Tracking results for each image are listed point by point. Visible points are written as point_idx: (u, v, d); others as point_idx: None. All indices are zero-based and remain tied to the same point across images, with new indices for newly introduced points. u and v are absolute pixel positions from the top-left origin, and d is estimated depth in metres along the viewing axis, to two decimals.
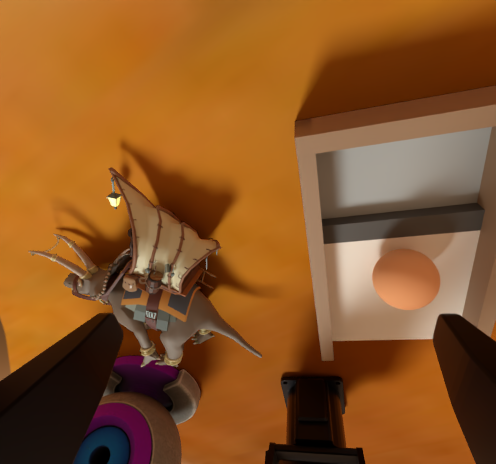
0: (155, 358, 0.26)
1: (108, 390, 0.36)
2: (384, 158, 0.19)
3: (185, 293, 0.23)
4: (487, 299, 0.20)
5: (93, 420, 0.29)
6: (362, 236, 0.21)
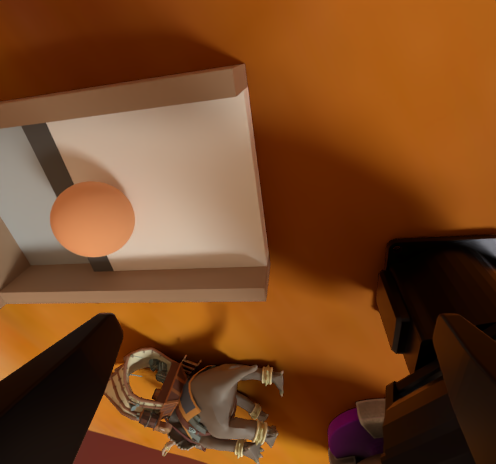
0: (248, 449, 0.24)
1: None
2: (26, 213, 0.20)
3: (165, 400, 0.23)
4: (93, 111, 0.13)
5: None
6: None
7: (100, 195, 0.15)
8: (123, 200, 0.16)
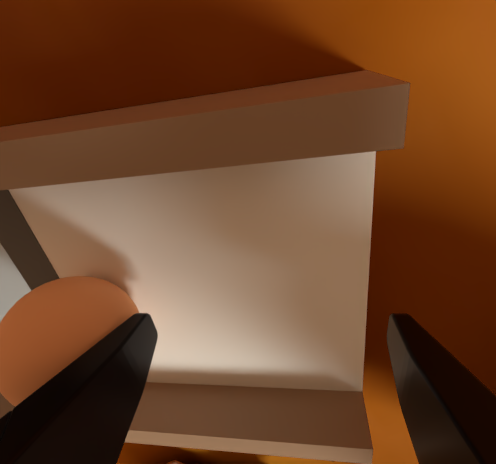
0: None
1: None
2: None
3: None
4: (75, 174, 0.06)
5: None
6: None
7: (71, 323, 0.08)
8: (118, 322, 0.09)
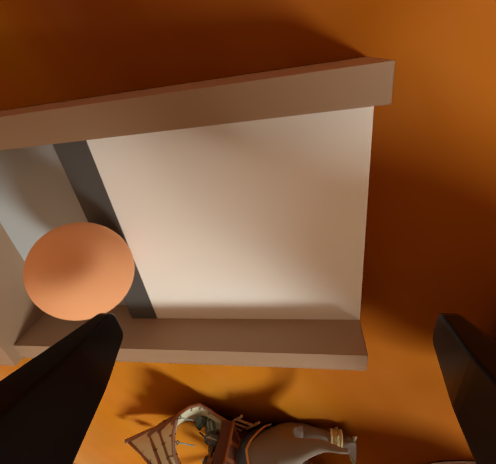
0: None
1: None
2: None
3: None
4: (164, 124, 0.09)
5: None
6: (135, 279, 0.15)
7: (35, 260, 0.11)
8: (56, 282, 0.11)
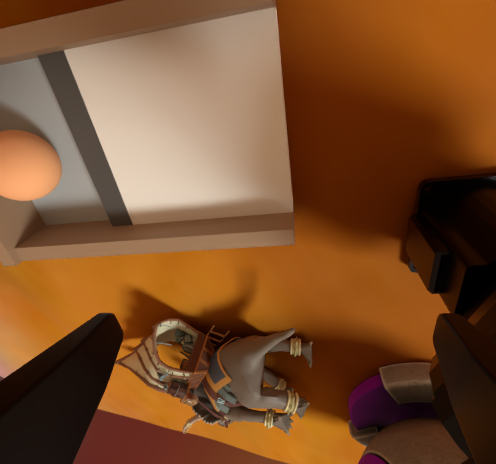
0: (279, 419, 0.23)
1: None
2: None
3: (195, 369, 0.23)
4: (119, 27, 0.12)
5: None
6: (112, 187, 0.19)
7: None
8: None
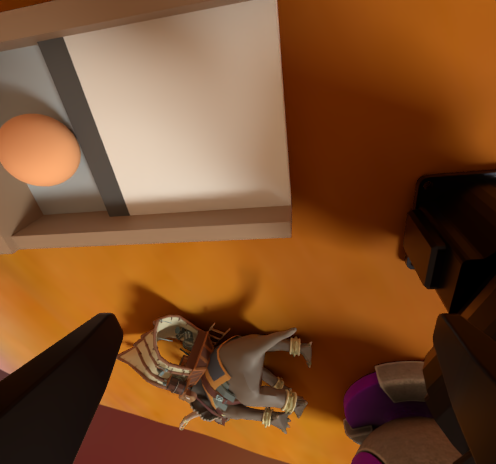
0: (277, 418, 0.23)
1: None
2: None
3: (194, 366, 0.23)
4: (118, 13, 0.12)
5: None
6: (110, 177, 0.19)
7: None
8: None
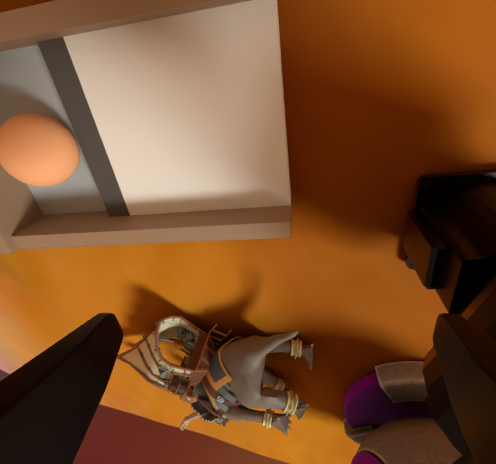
0: (278, 420, 0.23)
1: None
2: None
3: (196, 367, 0.23)
4: (118, 13, 0.12)
5: None
6: (110, 177, 0.19)
7: None
8: None
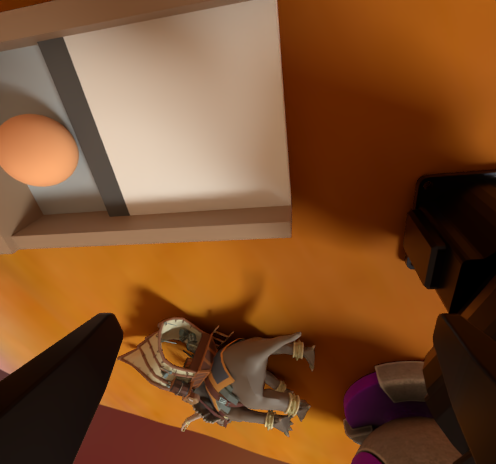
0: (280, 421, 0.24)
1: None
2: None
3: (198, 368, 0.23)
4: (118, 13, 0.12)
5: None
6: (110, 177, 0.19)
7: None
8: None
